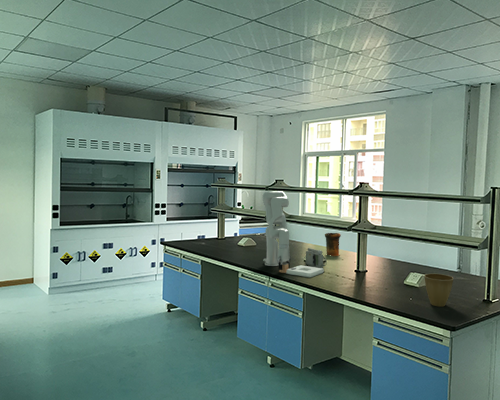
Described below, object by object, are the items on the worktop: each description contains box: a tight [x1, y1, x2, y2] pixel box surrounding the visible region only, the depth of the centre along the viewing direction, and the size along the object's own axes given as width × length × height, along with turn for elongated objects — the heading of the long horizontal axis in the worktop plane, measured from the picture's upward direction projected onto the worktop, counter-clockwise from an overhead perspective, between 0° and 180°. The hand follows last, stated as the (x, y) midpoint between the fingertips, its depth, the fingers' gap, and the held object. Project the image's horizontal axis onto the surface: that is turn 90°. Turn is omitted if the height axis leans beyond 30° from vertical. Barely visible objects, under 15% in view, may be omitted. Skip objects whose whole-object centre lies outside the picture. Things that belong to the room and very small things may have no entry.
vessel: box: [324, 232, 342, 257], centre depth 386 cm, size 14×14×20 cm
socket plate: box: [285, 264, 324, 278], centre depth 314 cm, size 20×20×4 cm
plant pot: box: [424, 273, 454, 307], centre depth 236 cm, size 15×15×16 cm
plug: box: [278, 262, 290, 274], centre depth 319 cm, size 5×5×7 cm
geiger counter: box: [305, 247, 328, 269], centre depth 338 cm, size 14×6×25 cm
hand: (284, 268), depth 318 cm, fingers open, 9 cm apart
